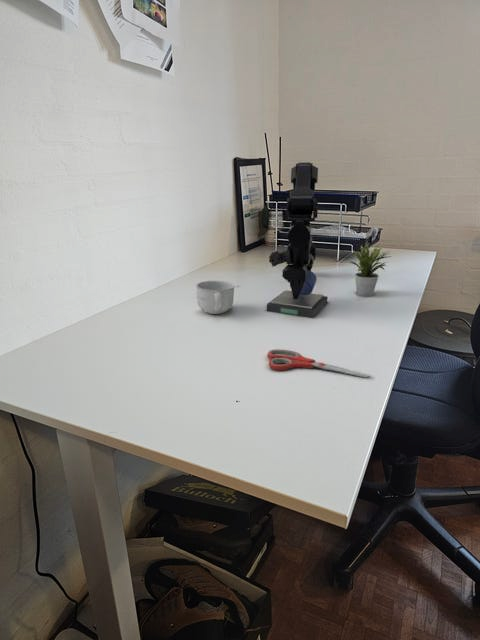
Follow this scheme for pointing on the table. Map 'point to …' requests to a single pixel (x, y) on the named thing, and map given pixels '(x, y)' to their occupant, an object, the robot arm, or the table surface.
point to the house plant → (367, 270)
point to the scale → (297, 308)
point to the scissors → (302, 362)
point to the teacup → (215, 296)
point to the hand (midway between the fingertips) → (298, 294)
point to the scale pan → (298, 300)
